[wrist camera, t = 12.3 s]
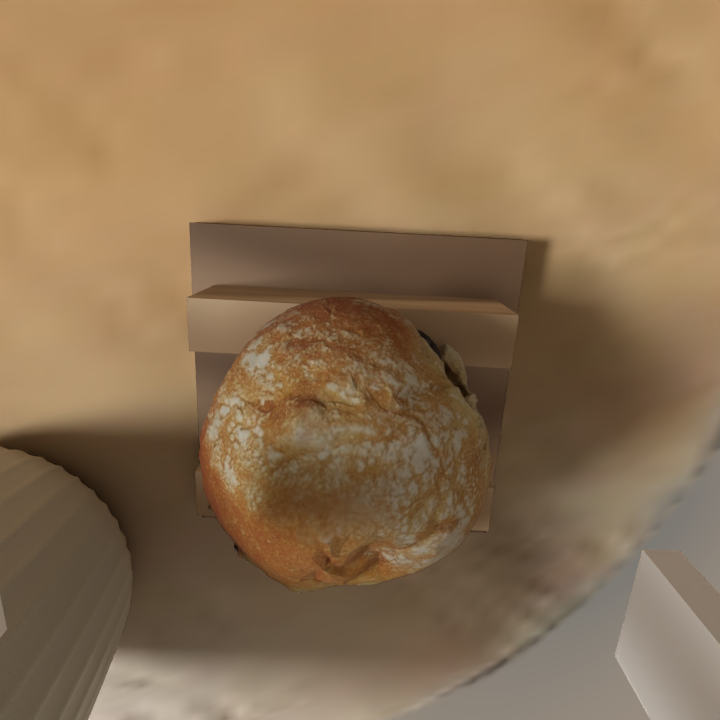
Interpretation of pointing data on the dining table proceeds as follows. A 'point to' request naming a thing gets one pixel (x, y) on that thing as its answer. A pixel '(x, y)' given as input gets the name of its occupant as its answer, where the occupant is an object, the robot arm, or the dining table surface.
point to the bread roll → (344, 447)
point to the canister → (57, 590)
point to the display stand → (361, 280)
